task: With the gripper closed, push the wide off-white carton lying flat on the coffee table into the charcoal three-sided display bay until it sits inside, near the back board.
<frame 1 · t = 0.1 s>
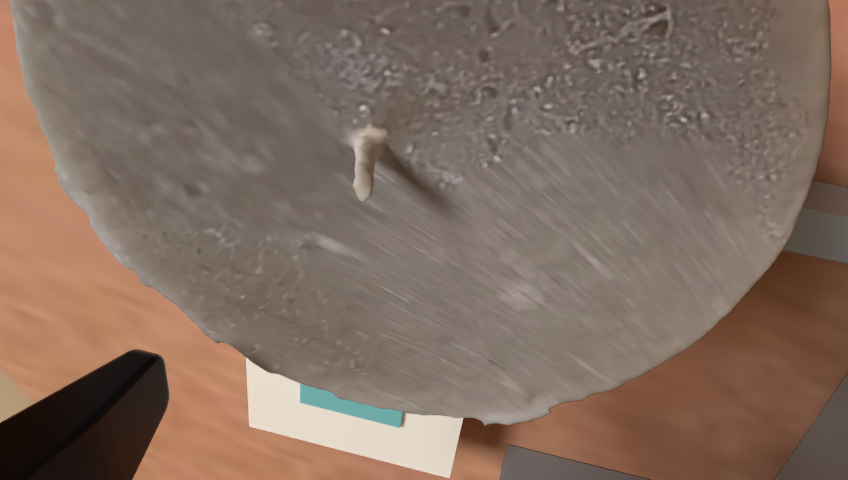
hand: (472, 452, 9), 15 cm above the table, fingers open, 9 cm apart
carton: (384, 288, 28), on the table
bay: (669, 361, 26), on the table
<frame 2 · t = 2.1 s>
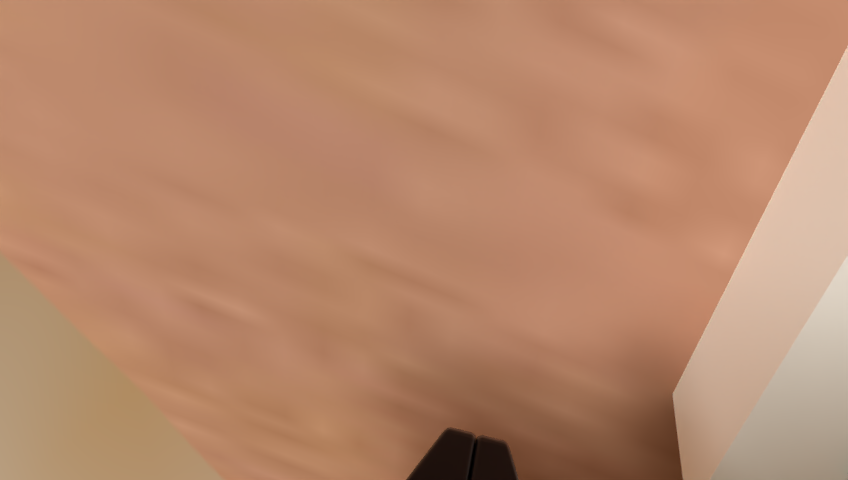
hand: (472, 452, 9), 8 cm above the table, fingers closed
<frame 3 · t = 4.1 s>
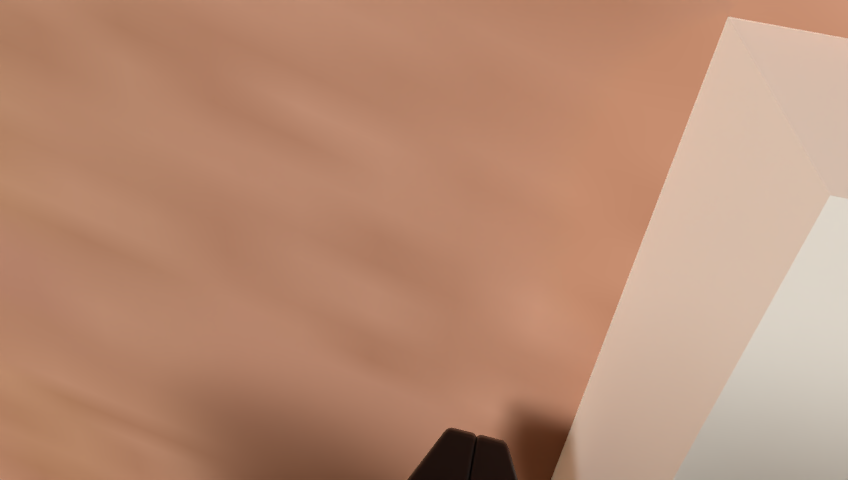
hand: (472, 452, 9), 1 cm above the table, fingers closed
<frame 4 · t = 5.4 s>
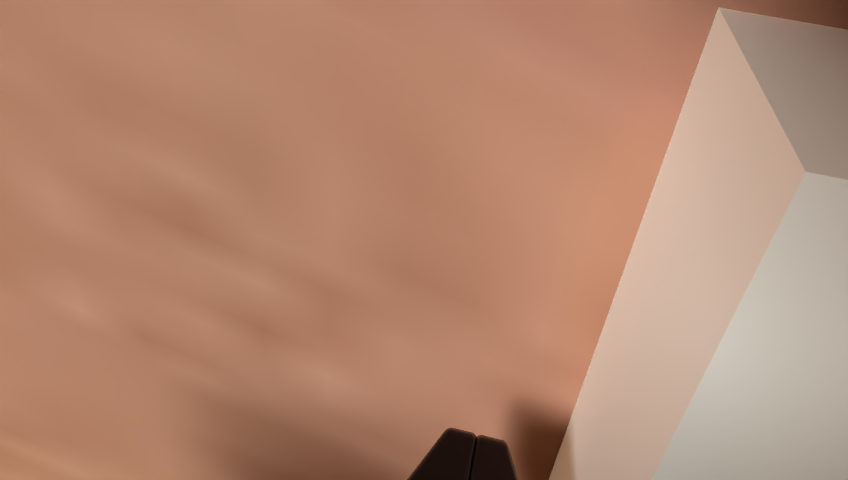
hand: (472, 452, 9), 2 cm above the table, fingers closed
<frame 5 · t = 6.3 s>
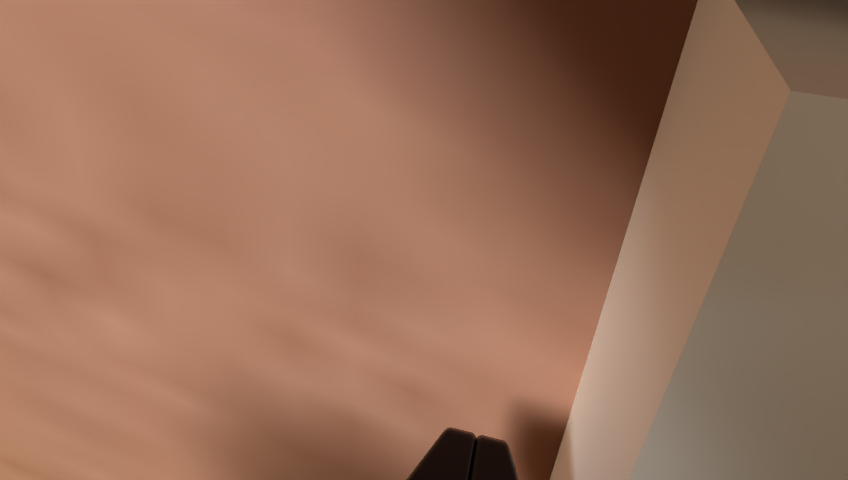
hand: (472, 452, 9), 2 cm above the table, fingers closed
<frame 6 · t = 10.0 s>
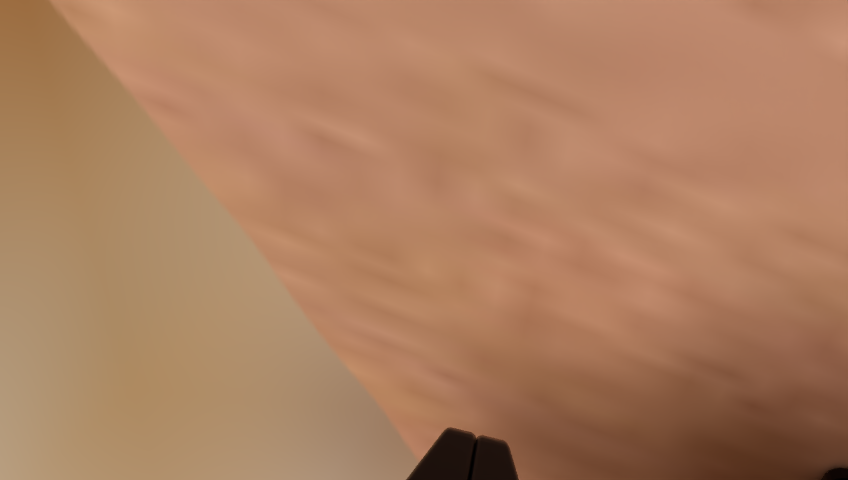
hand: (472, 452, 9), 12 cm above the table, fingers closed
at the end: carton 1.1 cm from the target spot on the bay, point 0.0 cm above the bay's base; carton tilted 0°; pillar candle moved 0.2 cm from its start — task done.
